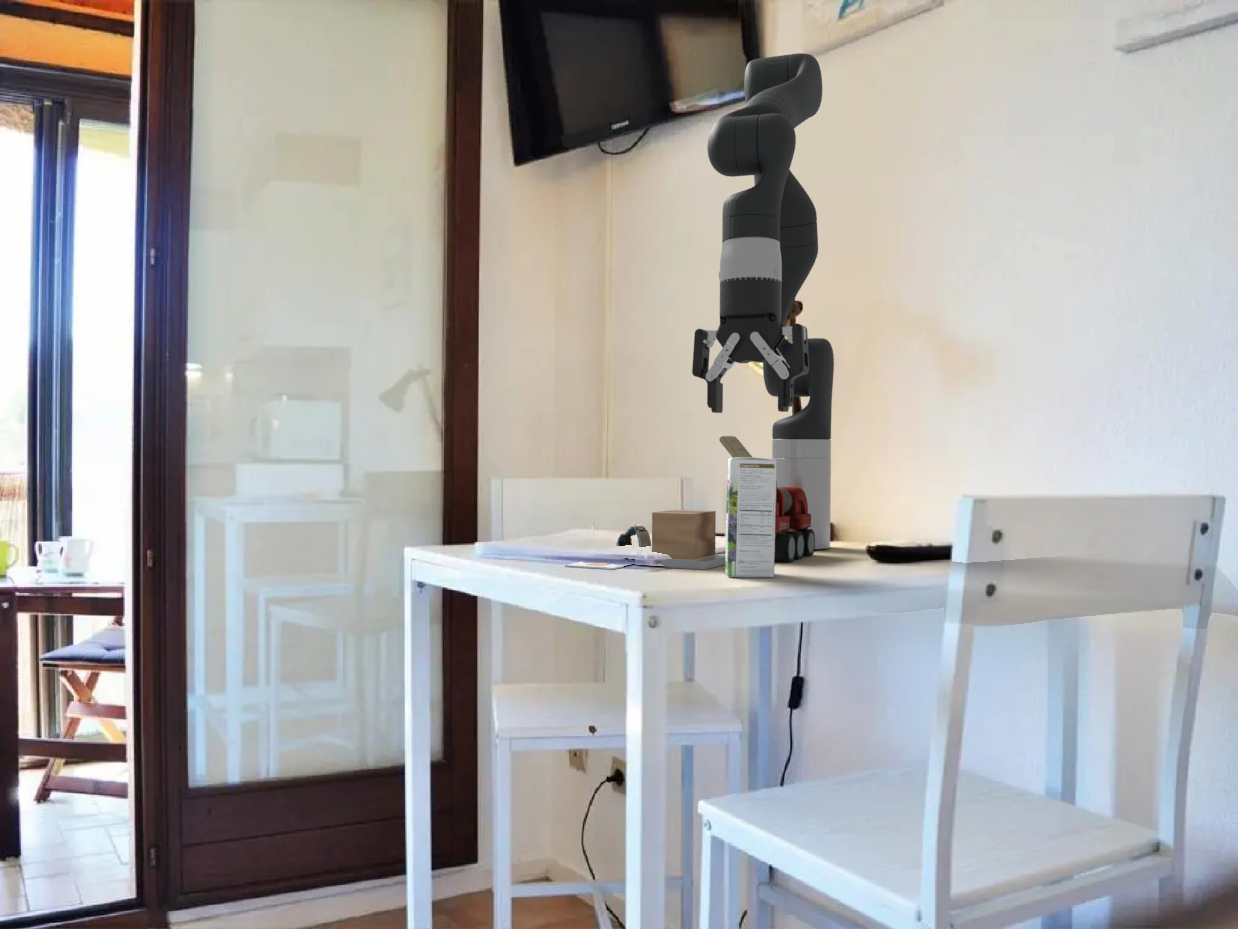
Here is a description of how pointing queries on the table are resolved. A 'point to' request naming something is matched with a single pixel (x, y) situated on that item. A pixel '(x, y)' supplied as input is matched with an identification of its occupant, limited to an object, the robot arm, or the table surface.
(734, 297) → the robot arm
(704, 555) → the brick
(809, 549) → the toy fire truck
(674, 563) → the plate
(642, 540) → the wristwatch
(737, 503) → the syrup box
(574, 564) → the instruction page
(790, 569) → the table surface
